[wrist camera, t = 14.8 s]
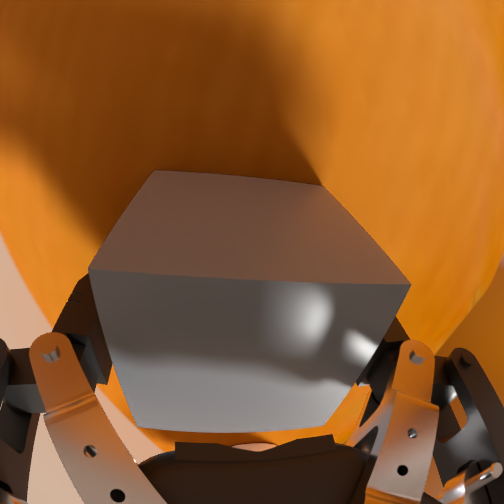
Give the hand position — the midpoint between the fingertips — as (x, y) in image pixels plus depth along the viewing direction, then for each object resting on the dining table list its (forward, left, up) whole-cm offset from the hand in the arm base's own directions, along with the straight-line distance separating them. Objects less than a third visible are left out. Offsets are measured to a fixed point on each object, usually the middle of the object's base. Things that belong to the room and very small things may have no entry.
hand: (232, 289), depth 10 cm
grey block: (0, 0, -3) cm, 3 cm away
